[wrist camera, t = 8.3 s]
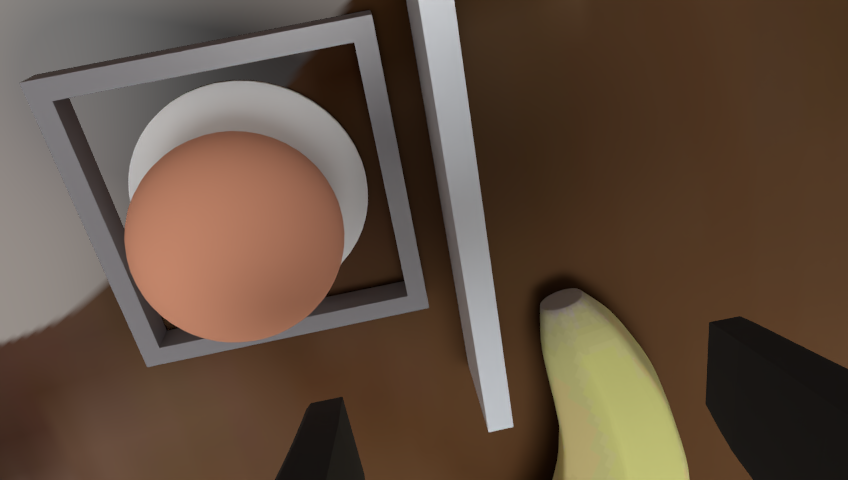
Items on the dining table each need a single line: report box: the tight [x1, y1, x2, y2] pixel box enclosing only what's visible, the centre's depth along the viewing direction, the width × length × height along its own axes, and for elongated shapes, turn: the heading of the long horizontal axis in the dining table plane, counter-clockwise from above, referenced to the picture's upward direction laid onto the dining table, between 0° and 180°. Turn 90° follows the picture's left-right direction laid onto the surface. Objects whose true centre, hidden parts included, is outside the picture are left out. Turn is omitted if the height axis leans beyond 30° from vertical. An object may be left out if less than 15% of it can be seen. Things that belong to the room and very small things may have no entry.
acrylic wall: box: [406, 0, 513, 432], centre depth 18 cm, size 16×1×4 cm, turn 10°
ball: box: [124, 131, 345, 342], centre depth 17 cm, size 6×6×6 cm
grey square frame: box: [19, 10, 429, 367], centre depth 19 cm, size 9×9×1 cm
